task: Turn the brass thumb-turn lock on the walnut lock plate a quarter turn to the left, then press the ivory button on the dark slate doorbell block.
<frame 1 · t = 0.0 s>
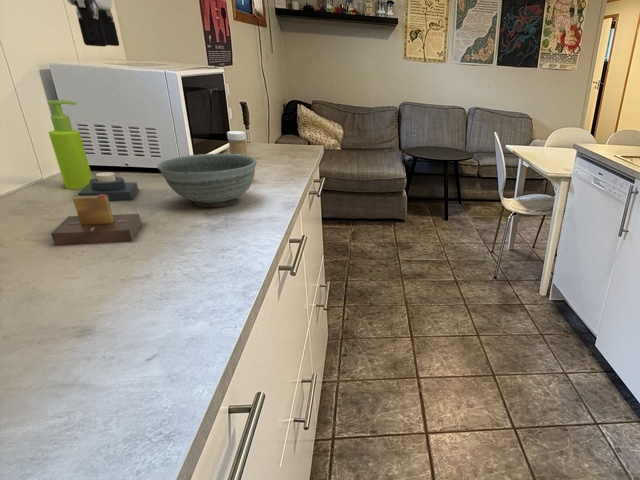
hand: (103, 45, 86), 33 cm above the counter, tool pointing down, fingers open, 9 cm apart
soap dispenser: (83, 187, 118), on the counter
bell block: (111, 196, 113), on the counter
lock plate: (101, 235, 91), on the counter
bowl: (215, 203, 114), on the counter
bell button: (106, 177, 111), point 4 cm above the counter, slide at 0.1 cm
sprinkles bottle: (242, 182, 133), on the counter
lock turn: (94, 209, 89), point 5 cm above the counter, hinge at 0.0°
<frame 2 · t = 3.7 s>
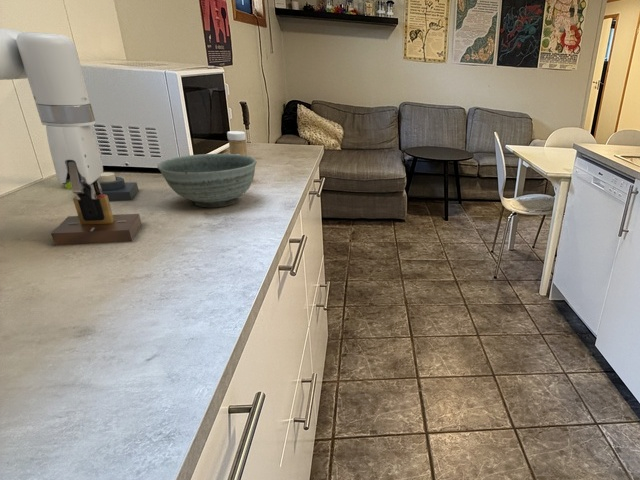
hand: (96, 217, 89), 4 cm above the counter, tool pointing down, fingers closed on lock turn, 2 cm apart
lock turn: (94, 209, 89), point 5 cm above the counter, hinge at 0.0°, touching gripper
everything else where it was.
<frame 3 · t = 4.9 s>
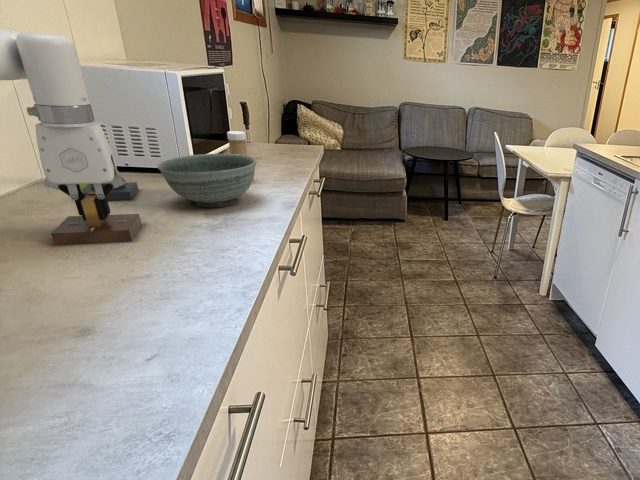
hand: (96, 217, 89), 4 cm above the counter, tool pointing down, fingers closed, pressing on lock turn
lock turn: (94, 209, 89), point 5 cm above the counter, hinge at 89.3°, touching gripper
everything else where it was.
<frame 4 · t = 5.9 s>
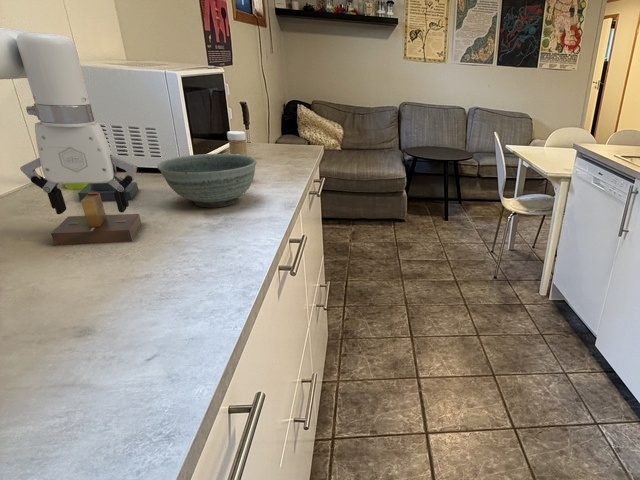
hand: (93, 211, 89), 5 cm above the counter, tool pointing down, fingers open, 9 cm apart
lock turn: (94, 209, 89), point 5 cm above the counter, hinge at 89.5°
everything else where it was.
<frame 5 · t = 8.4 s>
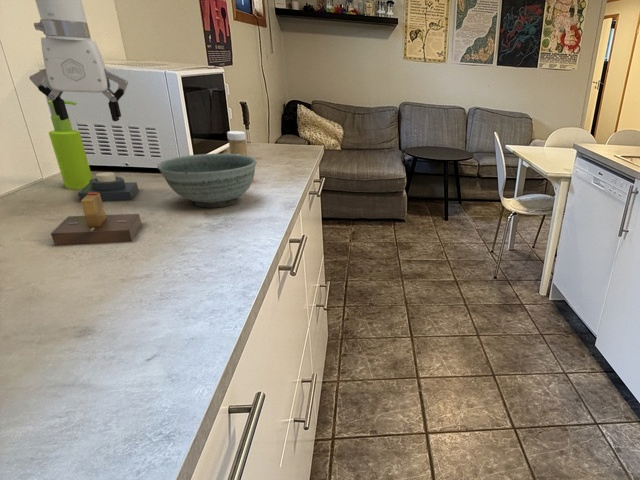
hand: (90, 119, 104), 17 cm above the counter, tool pointing down, fingers open, 9 cm apart
nothing on the counter moved.
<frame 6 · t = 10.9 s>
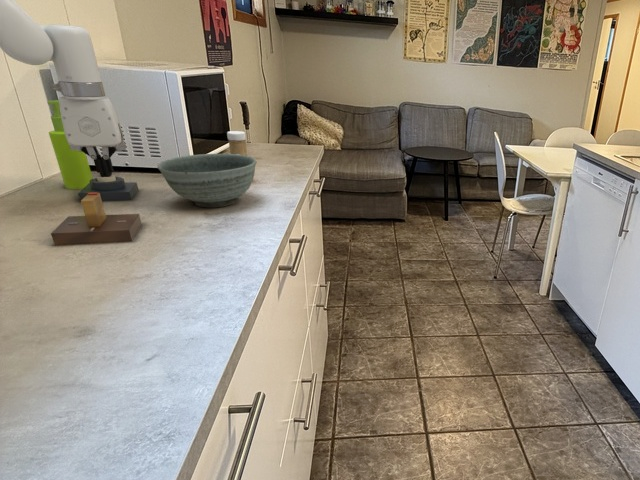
hand: (106, 175, 110), 5 cm above the counter, tool pointing down, fingers closed
bell button: (106, 179, 111), point 4 cm above the counter, slide at -0.3 cm, touching gripper
everything else where it was.
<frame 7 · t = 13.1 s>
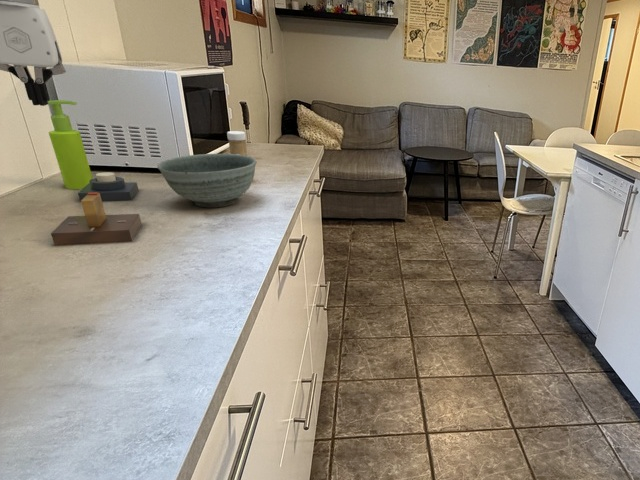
hand: (40, 104, 94), 21 cm above the counter, tool pointing down, fingers closed
bell button: (106, 177, 111), point 4 cm above the counter, slide at 0.1 cm
everything else where it was.
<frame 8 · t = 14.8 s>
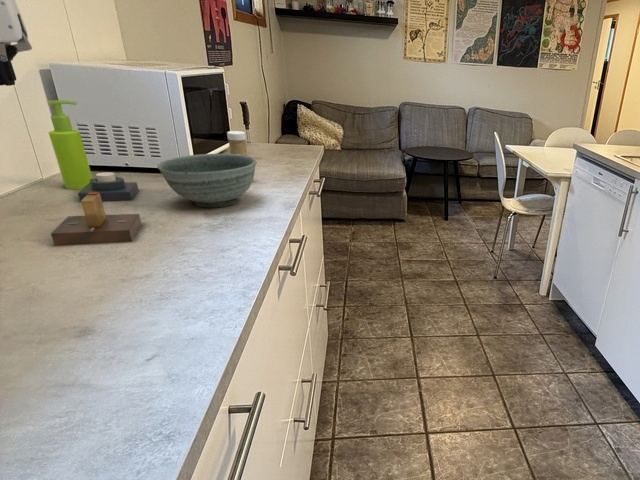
hand: (6, 84, 87), 25 cm above the counter, tool pointing down, fingers closed
nothing on the counter moved.
at the end: lock turn at +90° (first picture: +0°); bell button pushed in 1.1 cm at the most during the clip, back to where it started at the end; bell button slide at 0.1 cm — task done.
